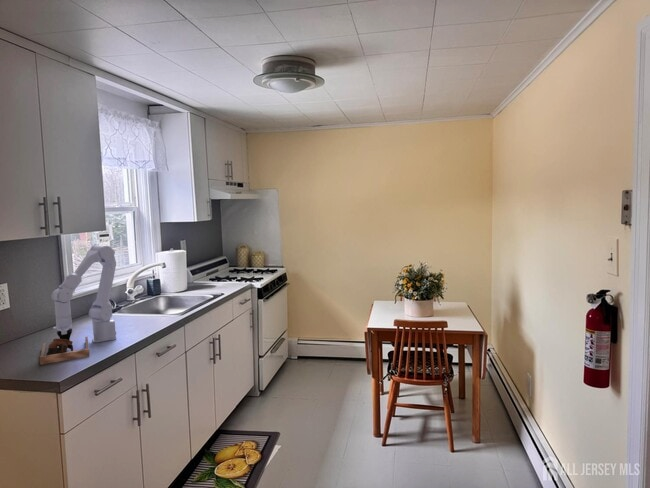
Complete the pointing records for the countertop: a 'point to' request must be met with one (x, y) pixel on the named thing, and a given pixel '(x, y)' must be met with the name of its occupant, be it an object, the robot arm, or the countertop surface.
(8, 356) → the countertop surface
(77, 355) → the wooden bracket
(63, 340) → the brown jagged ring
